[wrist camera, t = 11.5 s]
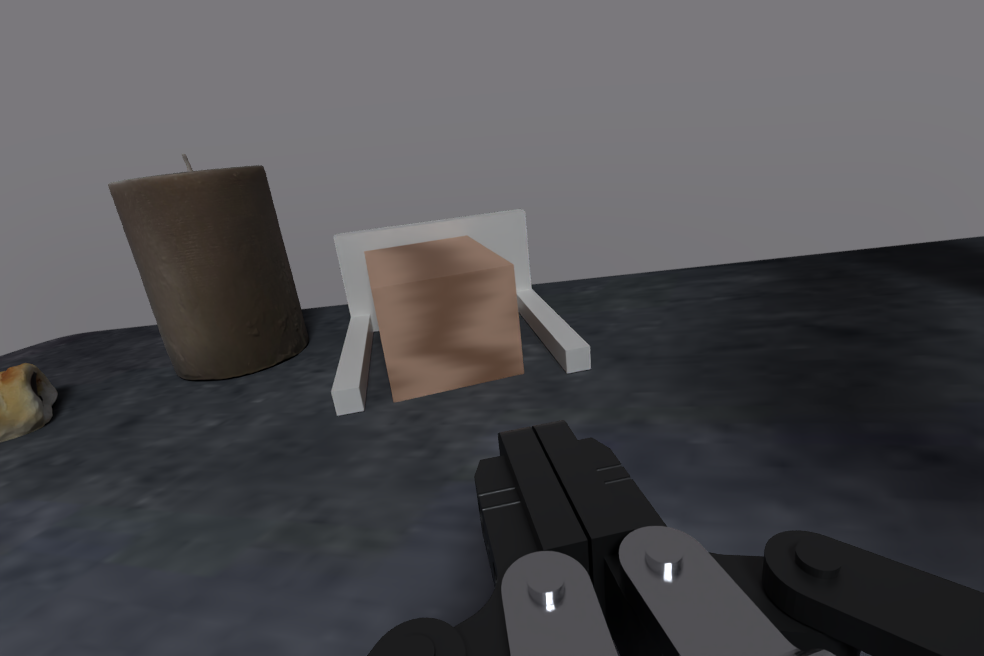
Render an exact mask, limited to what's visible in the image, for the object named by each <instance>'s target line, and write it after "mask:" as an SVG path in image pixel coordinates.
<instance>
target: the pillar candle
mask: <svg viewBox="0 0 984 656" xmlns="http://www.w3.org/2000/svg"><path fill="white" fill-rule="evenodd" d="M182 156H183V159H184V161H185V163H186V165H187V170H188V172H181V173H173V174H165V175H157V176H151V177H143V178H136V179H128V180H123V181H118V182H113V183H110V184H108V186H109V189H110V192H111V195H112V197H113V200H114V203H115V206H116V209H117V212H118V214H119V217H120V220H121V222H122V225H123V229H124V232H125V234H126V237H127V239H128V242H129V245H130V248H131V250H132V253H133V256H134V259H135V262H136V264H137V267H138V270H139V272H140V275H141V279H142V281H143V285H144V287H145V291H146V293H147V296H148V299H149V302H150V305H151V308H152V311H153V313H154V316H155V318H156V321H157V325H158V328H159V332H160V334H161V337H162V339H163V342H164V345H165V348H166V350H167V353H168V355H169V357H170V360H171V362H172V364H173V367H174V369H175V372H176V374H177V375H178V376H179V377H181V378H183V379H186V380H211V379H225V378H231V377H236V376H241V375H245V374H248V373H250V374H251V373H253V372H256V371H259V370H261V369H264V368H267V367H270V366H273V365H275V364H276V363H278V362H281V361H283V360H285V359H288V358H290V357H293V356H295V355H296V354H299V353H300V352H301V351H302V350H303V349H304V348H305V347H306V345H307V343H308V341H309V338H308V334H307V330H306V327H305V322H304V318H303V314H302V311H301V307H300V303H299V299H298V296H297V292H296V288H295V284H294V280H293V276H292V272H291V269H290V265H289V261H288V257H287V254H286V250H285V246H284V242H283V239H282V235H281V231H280V227H279V224H278V219H277V215H276V211H275V208H274V204H273V200H272V196H271V192H270V188H269V185H268V181H267V177H266V173H265V170H264V167H263V166H245V167H232V168H223V169H211V170H201V171H193V170H192V168H191V165H190V163H189V162H188V159H187V156H186V155H185V154H182Z"/></svg>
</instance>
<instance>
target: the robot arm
mask: <svg viewBox="0 0 984 656" xmlns="http://www.w3.org/2000/svg"><path fill="white" fill-rule="evenodd" d="M498 441H499V450H500V456H498V457H493V458H488V459H483V460H480V462H479V465H478V468H477V470H476V473H475V476H474V478H475V485H476V492H477V499H478V505H479V512H480V519H481V526H482V533H483V537H484V542H485V546H486V550H487V554H488V559H489V563H490V568H491V572H492V576H493V581H494V585H495V590H494V592H493V594H492V596H491V598H490V599H489V601H488V602H487V603H486V604H485V606H484V607H483V608H482V609H481V610H479V611H478V612H477V613H476V614H474V615H473V616H471V617H470V618H468V619H467V620H465V621H463V622H462V623H460V624H458V625H457V626H455V627H452V626H451V625H450V624H448V623H446V622H444V621H442V620H438V619H434V618H417V619H412V620H409V621H406V622H403V623H402V624H400V625H398V626H396V627H394V628H393V629H391V630H390V631H388V632H387V633H386V634H385V635H384V636H383V637H382V638H381V639H380V640H379V641H378V642H377V644H376V645H375V646H374V647H373V649H372V650H371V651H370V653H369V654H368V655H367V656H618V654H617V651H616V649H615V646H614V643H613V640H614V642H615V644H616V646H617V648H618V651H619V653H620V655H621V656H860V652H861V651H863V652H865V653H867V654H870V655H872V656H984V593H982V592H980V591H977V590H974V589H971V588H969V587H966V586H963V585H960V584H957V583H955V582H952V581H949V580H946V579H944V578H941V577H938V576H935V575H932V574H930V573H927V572H924V571H921V570H919V569H916V568H913V567H910V566H908V565H905V564H902V563H899V562H896V561H894V560H891V559H888V558H885V557H883V556H880V555H877V554H874V553H872V552H869V551H866V550H863V549H860V548H858V547H855V546H852V545H849V544H847V543H844V542H841V541H838V540H835V539H833V538H830V537H827V536H824V535H821V534H818V533H813V532H808V531H785V532H782V533H778V534H776V535H774V536H773V537H772V538H770V539H769V540H768V542H767V544H766V546H765V551H764V557H763V556H740V555H722V554H715V553H710V552H707V550H706V549H705V548H704V547H703V546H702V545H701V544H700V543H699V542H698V541H697V540H695V539H694V538H693V537H691V536H690V535H688V534H686V533H684V532H682V531H679V530H677V529H674V528H670V527H667V526H666V524H665V523H664V522H663V520H662V519H661V518H660V516H659V515H658V513H657V512H656V511H655V509H654V508H653V507H652V505H651V504H650V503H649V501H648V500H647V498H646V497H645V496H644V494H643V493H642V492H641V490H640V489H639V487H638V486H637V485H636V483H635V482H634V481H633V479H631V478H630V475H629V474H628V472H627V471H626V470H625V468H624V467H622V466H621V463H620V461H619V460H618V459H617V457H616V456H615V455H614V453H613V452H612V451H611V449H610V448H608V447H607V446H605V445H603V444H602V443H600V442H598V441H597V440H595V439H593V438H587V439H582V440H577V439H576V437H575V435H574V434H573V432H572V431H571V429H570V428H569V426H568V424H567V423H566V422H565V421H564V420H561V421H556V422H551V423H546V424H541V425H536V426H532V428H531V427H526V428H521V429H516V430H511V431H506V432H501V433H498Z"/></svg>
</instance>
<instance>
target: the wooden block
mask: <svg viewBox="0 0 984 656" xmlns="http://www.w3.org/2000/svg"><path fill="white" fill-rule="evenodd" d="M364 254H365V259H366V265H367V270H368V276H369V281H370V286H371V292H372V296H373V301H374V306H375V311H376V316H377V321H378V326H379V331H380V336H381V341H382V346H383V351H384V356H385V361H386V366H387V371H388V376H389V381H390V386H391V391H392V396H393V401H394V402H399V401H403V400H408V399H412V398H416V397H421V396H425V395H430V394H434V393H439V392H443V391H448V390H452V389H457V388H461V387H466V386H470V385H475V384H479V383H484V382H488V381H492V380H497V379H501V378H506V377H510V376H515V375H519V374H524V366H523V356H522V345H521V335H520V325H519V314H518V304H517V293H516V283H515V272H514V264H512V263H510V262H509V261H507V260H506V259H504V258H502V257H501V256H499V255H498V254H496V253H494V252H493V251H491V250H490V249H488V248H486V247H485V246H483V245H482V244H480V243H478V242H477V241H475V240H474V239H472V238H470V237H469V236H467V235H466V236H460V237H454V238H447V239H441V240H434V241H428V242H421V243H415V244H409V245H402V246H396V247H389V248H383V249H377V250H370V251H364Z"/></svg>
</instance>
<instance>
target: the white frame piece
mask: <svg viewBox="0 0 984 656" xmlns="http://www.w3.org/2000/svg"><path fill="white" fill-rule="evenodd" d="M466 235H467V236H469V237H470V238H472V239H474V240H475V241H477V242H478V243H480V244H482V245H483V246H485V247H486V248H488V249H490V250H491V251H493V252H494V253H496V254H498V255H499V256H501V257H502V258H504V259H506V260H507V261H509V262H510V263H512V264H514V272H515V283H516V293H517V304H518V312H519V313H520V314H521V315H522V317H523V318H524V319H525V321H526V322H527V323H528V324H529V326H530V327H531V328H532V329H533V331H534V332H535V333H536V335H537V336H538V337H539V338H540V340H541V341H542V342H543V343H544V345H545V346H546V347H547V349H548V350H549V351H550V352H551V354H552V355H553V356H554V357H555V359H556V360H557V361H558V363H559V364H560V365H561V366H562V368H563V369H564V370H565V371H566V373H573V372H578V371H584V370H589V369H591V359H590V346H589V345H588V344H587V343H586V342H585V341H584V340H583V339H582V338H581V337H580V336H579V335H578V334H577V333H576V332H575V331H574V330H573V329H572V328H571V327H570V326H569V325H568V324H567V323H566V322H565V321H564V320H563V319H562V318H561V317H560V316H559V315H558V314H557V313H556V312H555V311H554V310H553V309H552V308H551V307H550V306H549V305H548V304H547V303H545V302H544V301H543V300H542V299H541V298H540V297H539V296H538V295H537V294H536V293H535V292H534V291H533V290H532V287H531V277H530V264H529V252H528V240H527V228H526V216H525V211H524V210H522V209H516V210H508V211H501V212H494V213H487V214H479V215H472V216H465V217H458V218H450V219H442V220H435V221H427V222H420V223H413V224H405V225H398V226H391V227H383V228H376V229H369V230H361V231H354V232H347V233H339V234H335V236H334V242H335V246H336V251H337V255H338V260H339V265H340V269H341V274H342V278H343V283H344V288H345V292H346V297H347V301H348V306H349V310H350V315H351V320H350V324H349V327H348V331H347V335H346V339H345V342H344V346H343V350H342V354H341V357H340V361H339V365H338V369H337V372H336V376H335V380H334V384H333V387H332V391H331V393H332V397H333V401H334V405H335V409H336V413H337V416H339V415H345V414H350V413H355V412H361V411H364V408H365V399H366V391H367V383H368V374H369V366H370V357H371V349H372V340H373V332H375V331H379V326H378V321H377V316H376V311H375V306H374V301H373V296H372V292H371V286H370V281H369V276H368V270H367V265H366V259H365V254H364V251H370V250H377V249H383V248H389V247H396V246H402V245H409V244H415V243H421V242H428V241H434V240H441V239H447V238H454V237H460V236H466Z"/></svg>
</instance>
